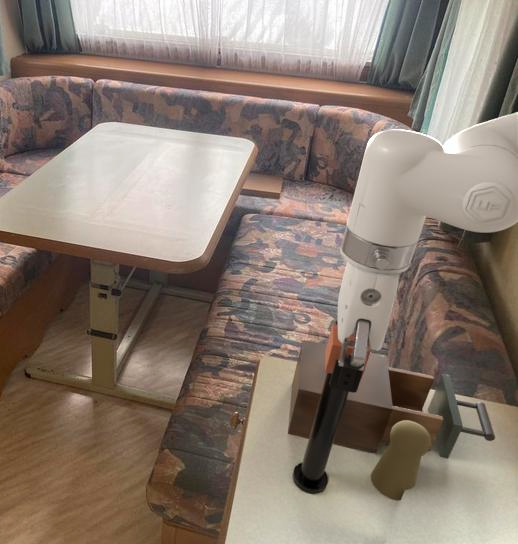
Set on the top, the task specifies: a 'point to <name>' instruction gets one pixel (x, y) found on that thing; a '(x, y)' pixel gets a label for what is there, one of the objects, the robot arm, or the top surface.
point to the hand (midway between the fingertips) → (342, 366)
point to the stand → (320, 440)
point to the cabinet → (359, 406)
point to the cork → (401, 459)
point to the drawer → (432, 409)
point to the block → (338, 350)
